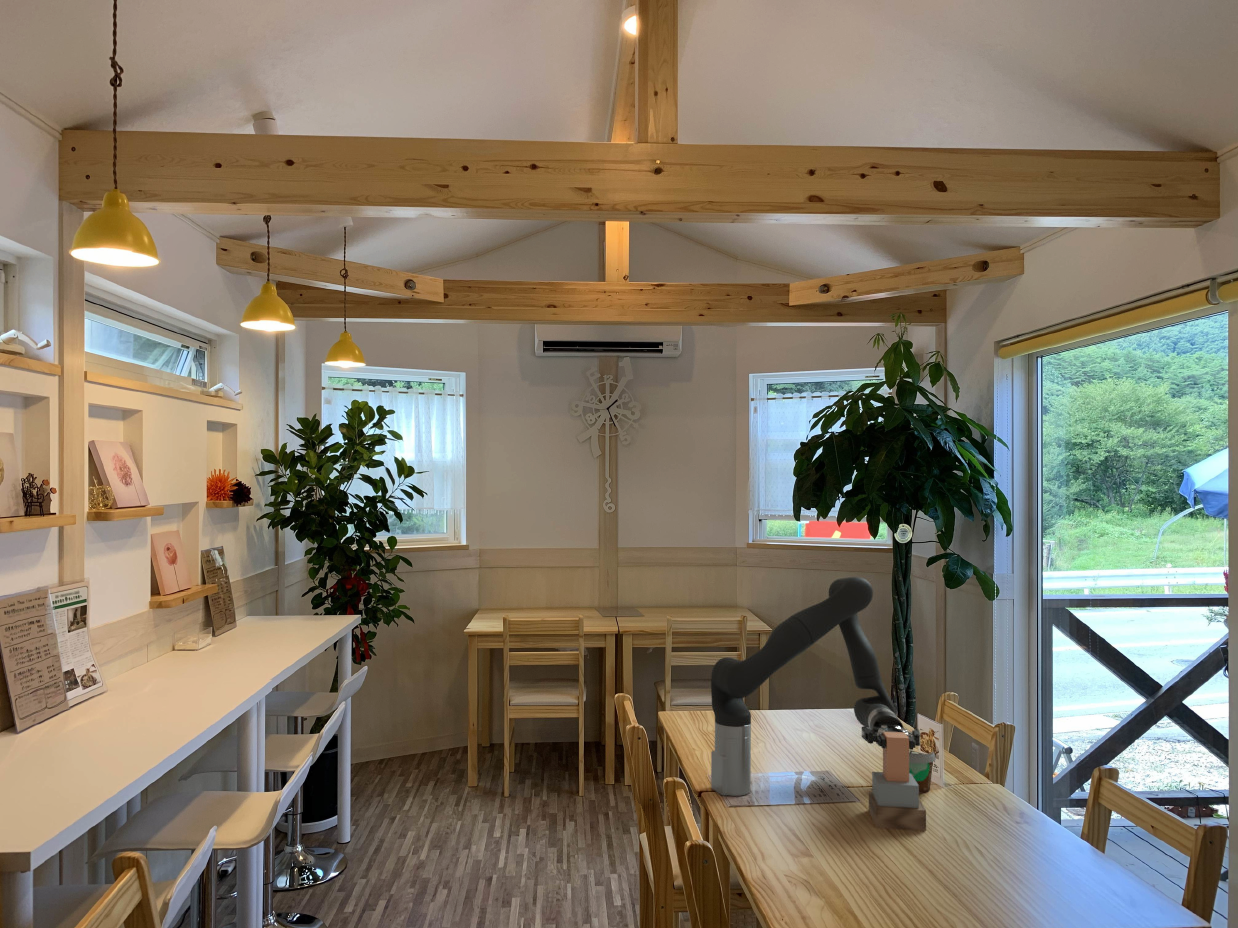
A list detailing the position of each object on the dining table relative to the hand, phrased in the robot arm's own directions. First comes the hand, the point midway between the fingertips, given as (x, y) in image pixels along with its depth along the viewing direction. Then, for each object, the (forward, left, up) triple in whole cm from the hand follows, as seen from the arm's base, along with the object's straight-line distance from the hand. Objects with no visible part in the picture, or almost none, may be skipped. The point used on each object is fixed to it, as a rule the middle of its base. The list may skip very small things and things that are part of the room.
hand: (897, 744), depth 200 cm
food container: (+18, +17, -18) cm, 31 cm away
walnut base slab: (+1, +2, -18) cm, 19 cm away
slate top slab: (+1, +2, -13) cm, 14 cm away
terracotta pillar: (+1, +2, -8) cm, 9 cm away
